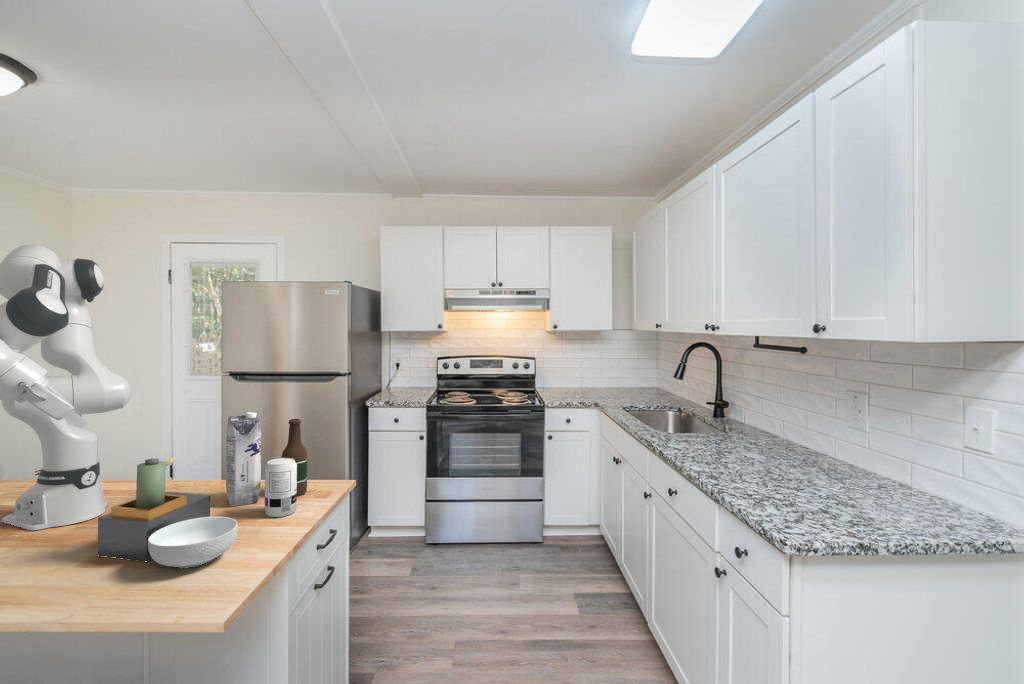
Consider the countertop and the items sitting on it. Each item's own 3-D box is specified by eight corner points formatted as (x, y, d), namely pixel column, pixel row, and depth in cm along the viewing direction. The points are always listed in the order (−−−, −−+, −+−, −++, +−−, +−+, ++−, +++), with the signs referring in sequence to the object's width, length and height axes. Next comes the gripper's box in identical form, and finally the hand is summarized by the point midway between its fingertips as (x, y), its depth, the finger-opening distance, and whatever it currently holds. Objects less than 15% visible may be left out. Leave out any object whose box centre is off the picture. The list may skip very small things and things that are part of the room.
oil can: (137, 515, 109) (139, 463, 109) (133, 509, 113) (135, 459, 113) (176, 508, 115) (178, 458, 115) (172, 502, 119) (173, 454, 119)
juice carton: (227, 509, 138) (227, 417, 138) (225, 498, 147) (226, 411, 146) (261, 503, 143) (262, 414, 143) (257, 493, 152) (258, 409, 151)
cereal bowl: (243, 539, 119) (243, 511, 119) (229, 572, 103) (229, 539, 103) (162, 549, 113) (162, 519, 113) (134, 584, 97) (134, 550, 97)
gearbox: (86, 555, 109) (86, 507, 109) (157, 524, 127) (157, 482, 127) (146, 562, 107) (146, 512, 106) (210, 529, 124) (210, 487, 124)
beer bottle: (297, 499, 148) (297, 422, 147) (275, 496, 149) (275, 420, 149) (312, 490, 155) (313, 417, 155) (291, 488, 157) (292, 416, 156)
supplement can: (258, 515, 134) (258, 462, 134) (282, 505, 142) (282, 456, 141) (279, 520, 131) (279, 466, 131) (302, 510, 139) (303, 459, 138)
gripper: (38, 373, 93) (103, 417, 100) (30, 366, 106) (88, 405, 114) (5, 398, 90) (75, 441, 97) (1, 388, 103) (63, 426, 111)
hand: (82, 422), depth 106 cm, fingers open, 8 cm apart
